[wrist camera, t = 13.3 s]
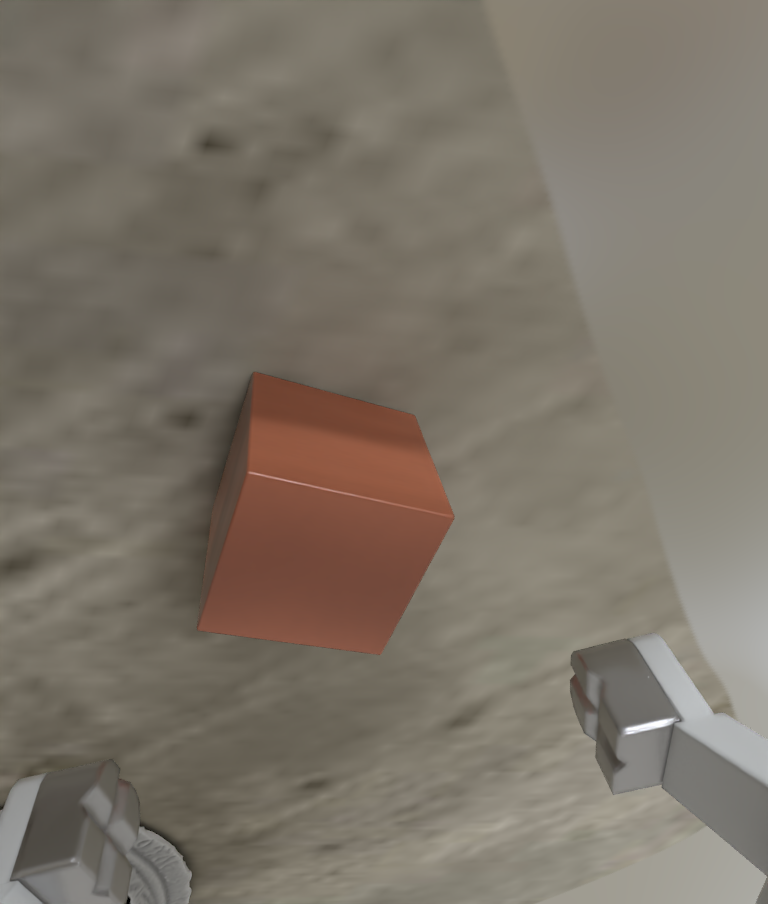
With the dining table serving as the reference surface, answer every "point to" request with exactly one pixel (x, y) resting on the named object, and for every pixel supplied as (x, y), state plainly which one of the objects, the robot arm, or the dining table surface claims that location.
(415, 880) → the dining table surface
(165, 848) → the grey oval dome
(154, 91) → the dining table surface
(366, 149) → the dining table surface
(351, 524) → the block
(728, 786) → the robot arm
